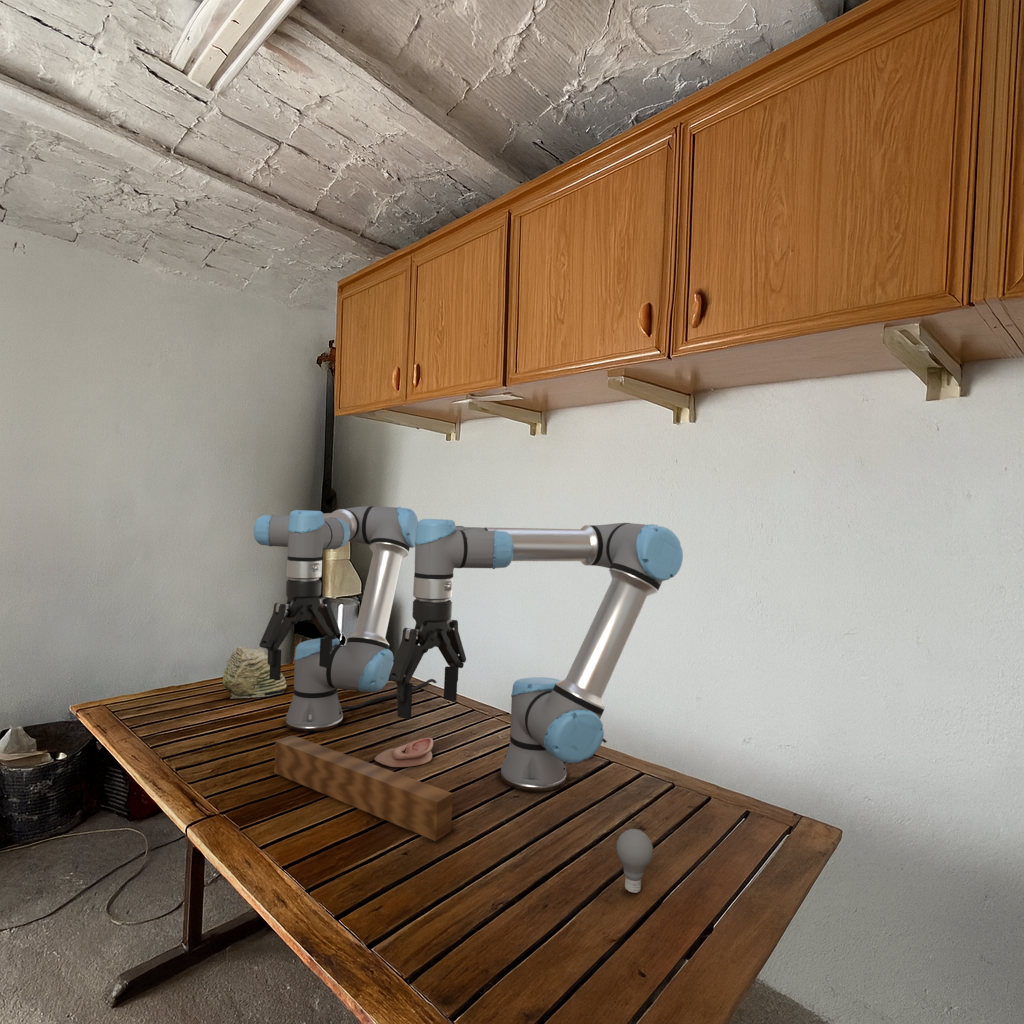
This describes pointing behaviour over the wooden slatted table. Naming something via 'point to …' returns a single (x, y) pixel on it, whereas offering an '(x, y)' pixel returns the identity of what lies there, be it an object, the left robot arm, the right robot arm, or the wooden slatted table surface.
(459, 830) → the wooden slatted table surface
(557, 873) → the wooden slatted table surface
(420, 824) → the beam
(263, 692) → the fossil
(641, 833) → the light bulb
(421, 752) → the beige rounded piece
